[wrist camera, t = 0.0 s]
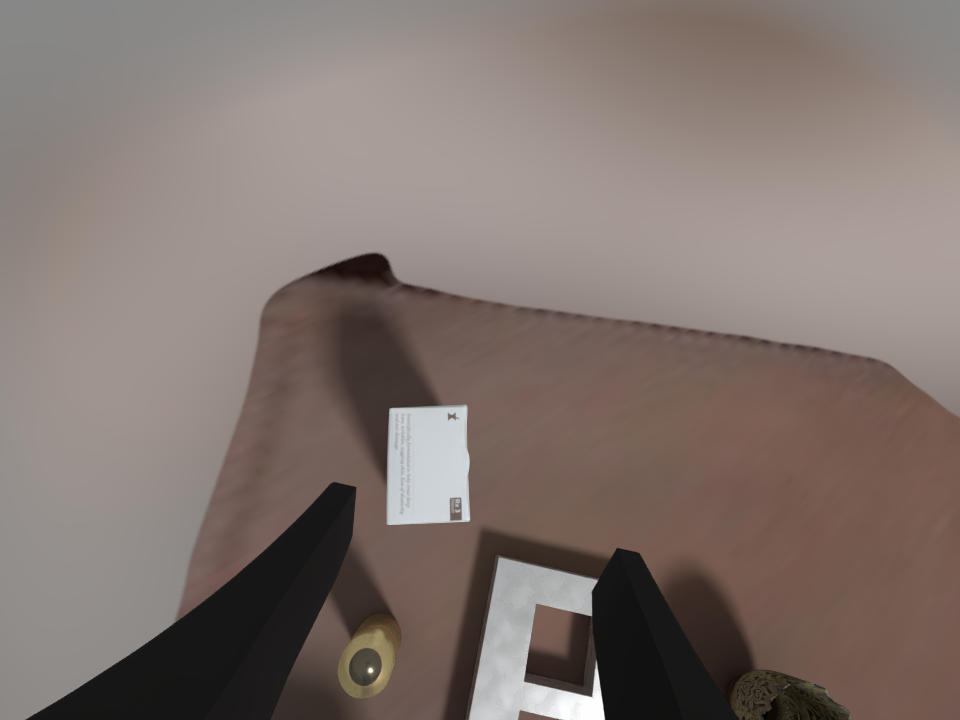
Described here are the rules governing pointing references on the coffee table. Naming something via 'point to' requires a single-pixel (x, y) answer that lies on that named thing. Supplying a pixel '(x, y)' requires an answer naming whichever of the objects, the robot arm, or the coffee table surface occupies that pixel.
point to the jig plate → (507, 642)
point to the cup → (781, 698)
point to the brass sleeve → (370, 656)
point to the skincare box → (427, 465)
